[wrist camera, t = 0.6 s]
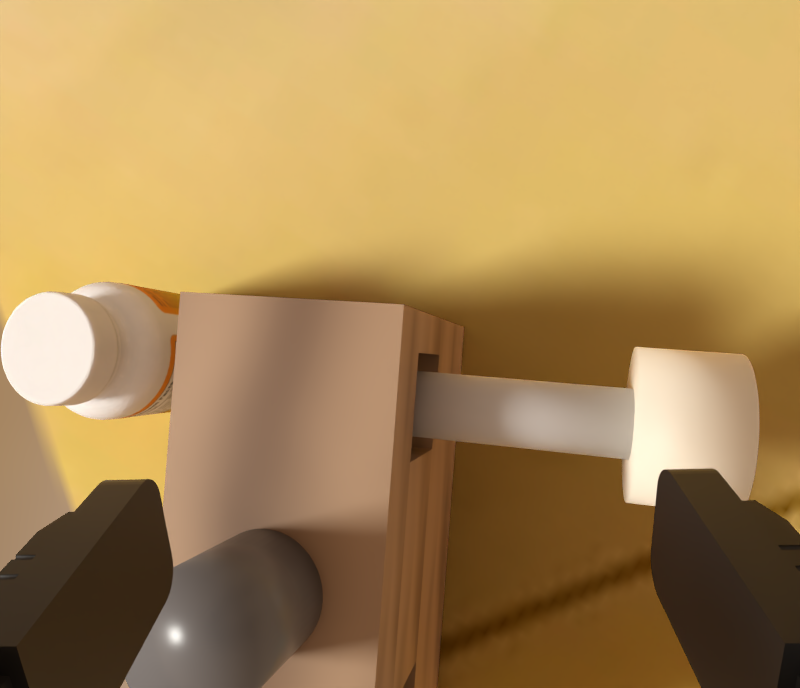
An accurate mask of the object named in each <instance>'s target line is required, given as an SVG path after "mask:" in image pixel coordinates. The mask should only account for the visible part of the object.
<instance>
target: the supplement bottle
mask: <svg viewBox="0 0 800 688" xmlns="http://www.w3.org/2000/svg"><path fill="white" fill-rule="evenodd" d="M179 303H180V294H176V293H171V292H165V291H160V290H155V289H149V288H144V287H138V286H133V285H128V284H122V283H113V282H98V283H92V284H89V285H86V286H83V287H81V288H79V289H77V290H75V291H73V292H72V293H61V292H43V293H39V294H36V295H33V296H31V297H29V298H27V299H26V300H24V301H23V302H22V303H21V304H19V305H18V306H17V308H16V309H15V310H14V311H13V313H12V314H11V316H10V317H9V319H8V321H7V323H6V326H5V328H4V331H3V336H2V342H1V357H2V364H3V368H4V371H5V373H6V376H7V378H8V380H9V382H10V384H11V385H12V386H13V388H14V389H15V390H16V391H17V392H18V393H19V394H20V395H21V396H22V397H24V398H25V399H27V400H28V401H30V402H33V403H35V404H38V405H44V406H62V405H65V406H66V407H67V408H69V409H70V410H71V411H73V412H75V413H77V414H79V415H82V416H84V417H87V418H92V419H100V420H105V419H119V418H126V417H133V416H141V415H149V414H157V413H166V412H171V403H172V390H173V378H174V366H175V353H176V341H177V328H178V316H179Z"/></svg>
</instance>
